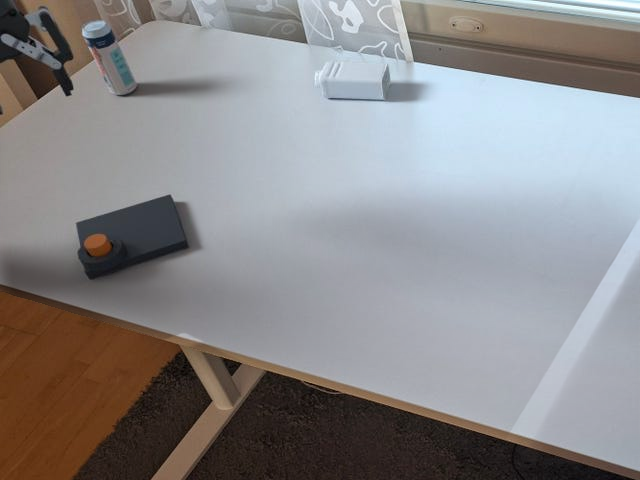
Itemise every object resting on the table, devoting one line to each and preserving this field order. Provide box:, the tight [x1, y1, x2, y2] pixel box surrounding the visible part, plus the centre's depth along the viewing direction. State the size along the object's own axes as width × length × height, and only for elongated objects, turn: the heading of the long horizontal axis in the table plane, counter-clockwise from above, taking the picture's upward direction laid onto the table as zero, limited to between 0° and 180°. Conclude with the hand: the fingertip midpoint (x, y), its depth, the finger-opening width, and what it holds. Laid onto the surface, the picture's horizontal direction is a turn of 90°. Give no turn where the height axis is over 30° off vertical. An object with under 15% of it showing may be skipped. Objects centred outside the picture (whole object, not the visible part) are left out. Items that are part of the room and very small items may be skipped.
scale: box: [75, 194, 190, 280], centre depth 99 cm, size 14×13×3 cm
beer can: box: [81, 19, 138, 96], centre depth 122 cm, size 5×5×12 cm
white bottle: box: [314, 60, 391, 101], centre depth 122 cm, size 6×13×4 cm, turn 83°
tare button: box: [84, 234, 112, 257], centre depth 94 cm, size 3×3×2 cm
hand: (34, 102), depth 89 cm, fingers open, 8 cm apart
